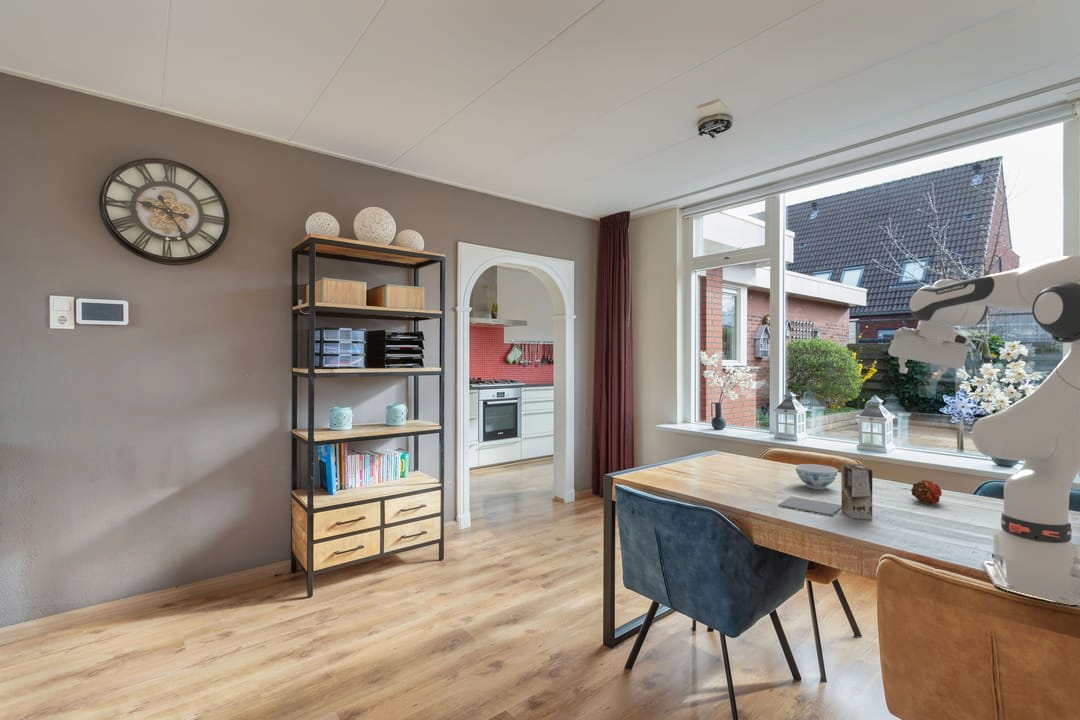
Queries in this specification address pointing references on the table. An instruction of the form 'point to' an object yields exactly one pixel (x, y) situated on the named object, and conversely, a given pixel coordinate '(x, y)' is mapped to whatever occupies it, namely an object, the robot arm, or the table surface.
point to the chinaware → (816, 475)
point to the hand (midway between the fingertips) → (918, 376)
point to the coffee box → (856, 491)
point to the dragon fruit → (926, 491)
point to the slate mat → (811, 505)
